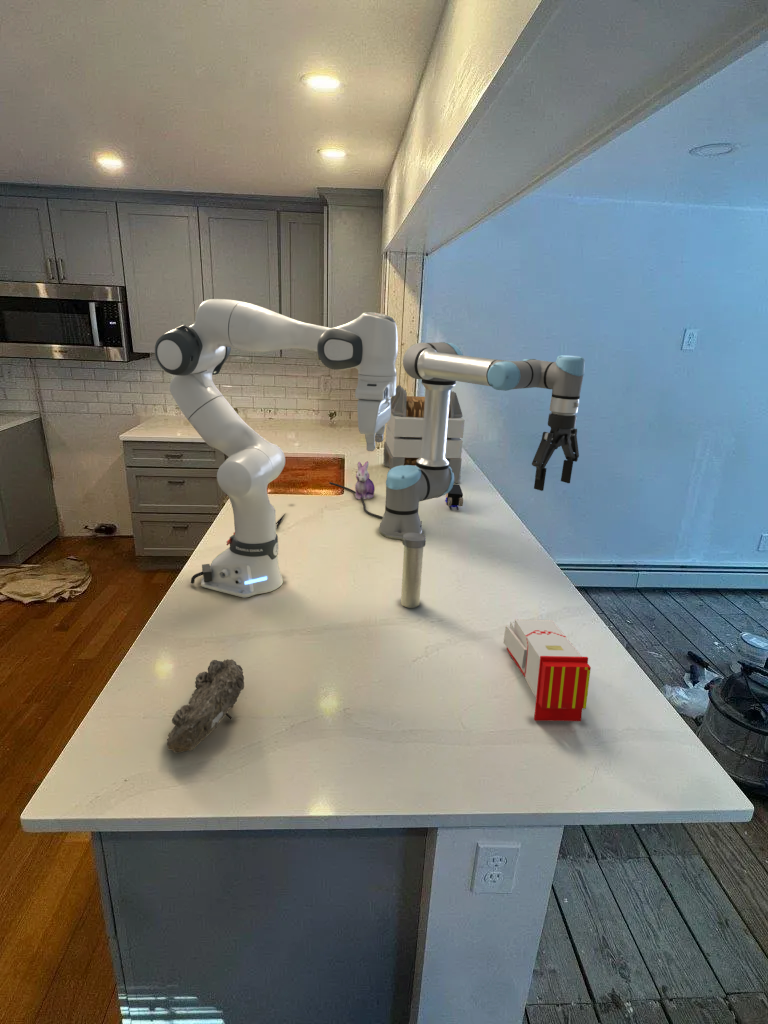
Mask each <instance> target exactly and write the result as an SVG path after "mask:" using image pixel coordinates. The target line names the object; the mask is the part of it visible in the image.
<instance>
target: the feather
mask: <svg viewBox="0 0 768 1024" xmlns="http://www.w3.org/2000/svg"><path fill="white" fill-rule="evenodd" d="M285 515H286V513H283V515H281V517H280V518H279V519H278V520H277V521H276V531H277V530H278V528H279V526H280V525H281V522H282V520H283V519H284V517H285Z"/></svg>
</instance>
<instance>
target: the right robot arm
mask: <svg viewBox="0 0 768 1024" xmlns="http://www.w3.org/2000/svg"><path fill="white" fill-rule="evenodd" d="M585 365H586V360H585V358H584V357H582V356H578V355H566V354H565V355H564V354H563V355H558V356H557V357H556V360H555V361H549V360H541V359H536V358H524V359H521V360H506V359H505V360H504V359H503V360H502V359H496V358H487V357H479V356H471V355H464V354H463V352H462V350H461V349H460V347H459V346H457V345H456V344H455V343H451V342H445V341H443V342H442V341H441V342H440V341H439V342H438V341H437V342H417V343H414V344H412V345H411V346H409V347H408V348H407V350H406V351H405V353H404V355H403V358H402V366H403V369H404V372H405V373H406V374H407V375H408V376H409V377H411V378H412V379H415V380H421V385H422V386H423V387H424V389H425V392H424V397H425V404H424V419H423V434H422V449H421V457H420V458H418V459H417V461H416V466H413V465H401V466H396V467H394V468H392V469H390V468H389V470H388V472H387V474H386V479H385V504H384V505H385V507H384V508H385V509H384V513H383V515H382V516H381V515H380V514H379V515H378V514H376V513H372V512H371V511H369V510H367V509H366V503H365V500H363V498H362V497H361V498H360V499H359V500H360V501H361V503H362V506H363V508H362V509H363V511H364V512H365V513H366V514H367V515H369V516H371V517H374V518H378V519H381V522H379V527H378V533H379V534H380V535H381V536H382V537H385V538H387V539H389V540H395V541H403V535H404V534H406V533H420V534H423V525H422V522H423V520H421V518H420V515H419V507H420V506H419V505H420V502H423V501H427V500H431V499H437V498H440V497H443V496H446V494H447V493H448V492H449V491H450V490H451V489H452V487H453V484H455V483H454V473H452V469H451V467H450V466H449V462H448V461H447V459H446V458H445V453H446V441H447V428H448V416H449V404H450V392H451V391H452V389H453V388H454V387H455V386H456V384H457V382H461V383H465V384H473V385H479V386H487V387H491V388H492V389H494V390H496V391H503V392H504V391H511V390H520V389H532V388H533V389H534V388H539V389H546V390H551V398H550V404H549V413H548V418H547V419H548V420H547V426H548V427H549V428H550V431H549V432H548V431H543V432H542V435H541V440H540V442H539V445H538V447H537V449H536V452H535V454H534V457H533V460H532V461H531V466H533V467H535V475H534V477H535V478H534V485H533V489H534V490H537V491H539V492H543V491H544V489H545V484H546V483H545V482H546V476H547V468H546V466H547V465H548V463H549V461H550V459H551V457H552V456H553V454H554V453H555V451H556V450H557V449H558V448H560V447H561V449H562V452H563V455H564V458H565V459H563V463H562V468H561V469H562V470H561V475H560V482H562V483H566V484H571V478H572V472H573V466H574V463H576V462H578V461H579V457H580V453H579V444H578V428H576V423H577V419H578V416H577V414H578V412H579V411H578V410H579V406H580V397H581V391H582V385H583V380H584V376H585ZM328 484H329V485H331V486H335V487H338V488H341V489H343V490H345V491H349V492H351V493H353V494H354V495H355V493H356V490H353V489H351V488H349V487H346V486H344V485H342V484H338V483H335V482H331V481H329V483H328Z"/></svg>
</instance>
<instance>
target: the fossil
mask: <svg viewBox="0 0 768 1024" xmlns="http://www.w3.org/2000/svg"><path fill="white" fill-rule="evenodd" d="M243 670H244V669H243V667H242V665H240V664H237V662H236V661H235V660H234V659H232V658H231V659H227V658H226V659H224V660H223V661H222V660H217V659H212V660H211V661H210V663H209V665H208V666H207V671H201V672H199V673H198V674H197V675H196V676H195V680H194V684H195V685H194V687H195V689H194V690H193V693H192V694H191V697H190V698H189V700H188V704H184V705H182V706H181V707H180V709H177V710H176V711H175V713H174V715H173V716H172V718H171V723H172V724H173V727H172V730H171V731H170V732H168V734H167V738H166V741H167V742H166V745H167V749H168V750H169V751H173V752H174V753H176V754H178V753H182V752H188V751H189V752H192V751H193V750H195V748H196V747H197V746H199V744H200V743H201V742H203V741H204V740H205V739H206V738H207V737H208V736H209V735H210V734H211V733H212V732H214V730H215V729H217V727H218V726H219V724H220V722H221V721H222V720H223V719H224V718H225V716H226V717H227V719H229V720H233V717H232V715H230V714H229V710H230V709H231V708H234V706H235V704H236V703H237V702H238V699H239V697H240V695H241V693H242V691H243V690H245V689H244V688H245V675H244V671H243Z"/></svg>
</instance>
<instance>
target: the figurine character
mask: <svg viewBox="0 0 768 1024" xmlns="http://www.w3.org/2000/svg"><path fill="white" fill-rule="evenodd" d="M463 496H464V493H463V490H462V488H461V485H460V484H457V483H454V484H453V487H452V489H451V490H450V491H449V492H448V493H447V494H445V499H444V502H445V503H446V505H447V506H448V507H449V510H450V511H452V510H453V509H452V508H456V510H457V511H459V510H460V508H459V507H463V505H464V498H463Z"/></svg>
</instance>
